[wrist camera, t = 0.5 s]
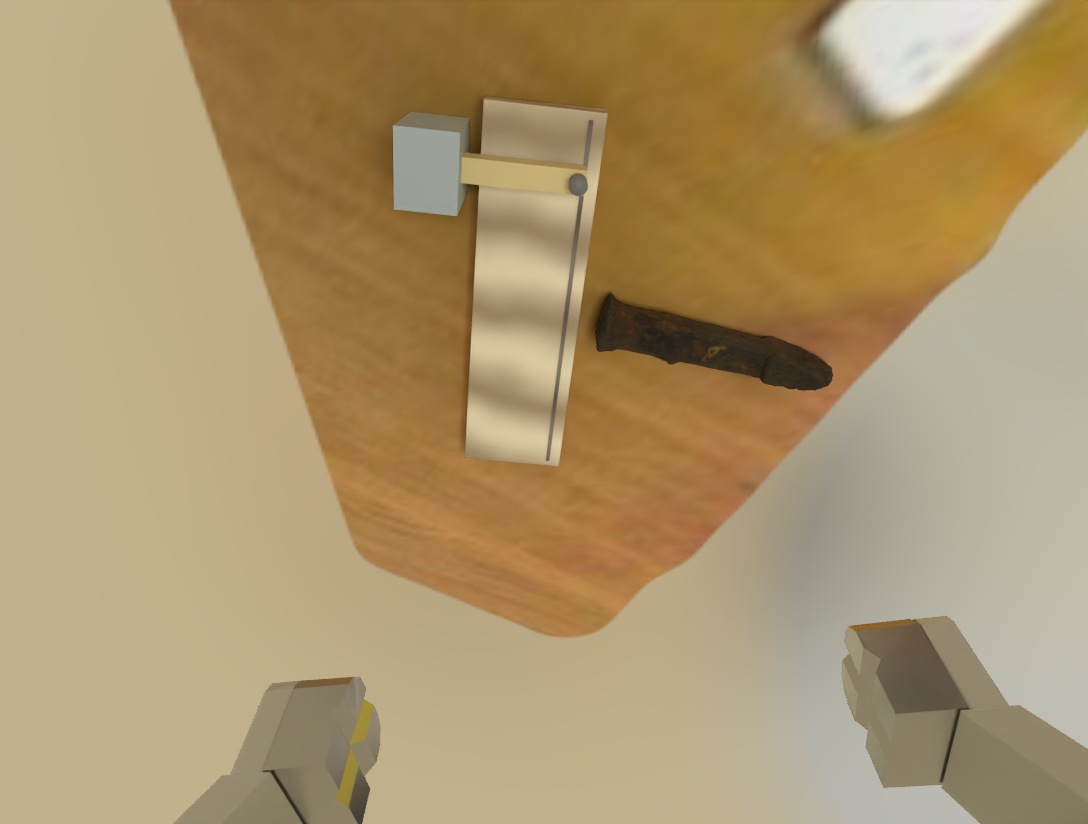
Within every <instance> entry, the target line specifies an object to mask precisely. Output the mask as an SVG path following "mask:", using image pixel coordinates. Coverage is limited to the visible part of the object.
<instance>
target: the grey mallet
mask: <svg viewBox="0 0 1088 824" xmlns="http://www.w3.org/2000/svg"><path fill="white" fill-rule="evenodd" d="M469 135H470V118H464V117H455V116H446V115H437V114H429V113H420V112H409V113H408V114H407V115H406V116H404V117H403V118H402V119H400V120H399V121H398V122H397V123H395V124H394V125H393V170H394V209H395V210H404V211H414V212H423V213H433V214H442V215H452V216H457V215H458V213H459V210H460V208H461V206H462V204H463V201H464V199H465V197H466V194H467V184H474V185H484V186H493V187H502V188H512V189H521V190H530V191H540V192H549V193H558V194H567V195H575V196H584V194H585V193H586V191H587V189H588V183H587V179H586V177H587V167H586V166H585V165H576V164H566V163H557V162H548V161H539V160H530V159H521V158H512V157H503V156H493V155H484V154H475V153H469Z"/></svg>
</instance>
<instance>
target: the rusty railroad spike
mask: <svg viewBox="0 0 1088 824" xmlns="http://www.w3.org/2000/svg"><path fill="white" fill-rule="evenodd" d="M595 333H596V344H597V345H596V347H597V350H598V351H599V352H602V351H614V350H616V349H619V350H627V351H632V352H637V353H642V354H647V355H652V356H654V357H657V358H660V359H662V360H664V361H666V362H667V363H668V364H675V363H677V362H684V363H689V364H695V365H699V366H704V367H708V368H714V369H718V370H723V371H728V372H734V373H740V374H745V375H749V376H752V377H756V378H760V379H761V381H762V382H763V383H765V384H769V385H773V386H783V387H786V388H788V389H796V388H797V389H798V390H804V391H805V390H817V389H821V388H823V387H826V386H828V385H829V383H831V381H832V376H833V374H832V368H831V367H830V366H829V365H828V364H827V363H825V362H824V361H823V360H822V359H820V358H818V357H817V356H816V355H814V354H812V353H809V352H808V351H806V350H803V349H801V348H800V347H798V346H796V345H792V344H789V343H787V342H785V341H782V340H780V339H777V338H775V337H772V336H764V337H763V338H761V337H757V336H753V335H749V334H745V333H742V332H738V331H734V330H730V329H726V328H722V327H720V326H717V325H713V324H706V323H701V322H697V321H693V320H689V319H686V318H683V317H679V316H676V315H672V314H669V313H666V312H657V311H653V310H646V309H642V308H638V307H633V306H630V305H626V304H623V303H621V302H619V301H618V300H616V299H615V297H614V296H613V294H612V293H611V294H610V295H608V297H607V298H606V300H605V303H604V306H603V309H602V311H601V314H600V317H599V321H598V325H597V329H596V332H595Z"/></svg>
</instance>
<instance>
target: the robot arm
mask: <svg viewBox="0 0 1088 824" xmlns="http://www.w3.org/2000/svg"><path fill="white" fill-rule="evenodd" d="M844 642H845V644H846V647H847V649H848V651H849V653H850V654H849V655H847V657H845V658H844V659H843V661H842V678H843V686H844V691H845V695H846V698H847V702H848V705H849V707H850V710H851V712H852V715H853V717H854V720H855V721H857V722H858V723H859V724H860V725H862V726H863V727H864V728H865V729H867V730H868V733H867V741H866V748H867V750H868V753H869V755H870V757H871V760H872V762H873V764H874V767H875V769H876V771H877V774H878V776H879V778H880V781H881V783H882V785H883V787H884V788H887V787H905V786H924V785H942V789H944V790H945V791H946V792H947V793H948V794H949V795H950V796H951V797H952V798H953V799H955V801H957V802H958V803H959V804H960V805H961V806H962V807H963V808H964V809H965V810H966V811H968V812H969V813H970V814H971V815H972V816H973V817H974V818H975V819H976V820H977V821H978V822H979V823H981V824H1088V749H1087V748H1085V747H1083V746H1082V745H1080V744H1079V743H1077V742H1075V741H1074V740H1073V739H1071V738H1070V737H1068V736H1067V735H1065V734H1063V733H1062V732H1060V731H1059V730H1057V729H1056V728H1054V727H1052V726H1051V725H1049V724H1048V723H1046V722H1045V721H1043V720H1042V719H1040V718H1038V717H1037V716H1035V715H1034V714H1032V713H1031V712H1029V711H1028V710H1026V709H1024V708H1023V707H1021V706H1009V705H1008V703H1007V702H1006V700H1005V699H1004V697H1003V696H1002V694H1001V693H1000V691H999V690H998V688H997V686H996V685H995V683H994V682H993V680H992V679H991V678H990V676H989V674H988V673H987V671H986V670H985V668H984V667H983V665H982V664H981V662H980V661H979V659H978V658H977V656H976V655H975V653H974V652H973V650H972V648H971V647H970V645H969V644H968V642H967V641H966V639H965V638H964V636H963V635H962V634H961V632H960V630H959V629H958V627H957V626H956V624H955V623H954V621H952V620H951V619H950V618H948V617H947V616H942V617H933V618H923V619H914V620H911V619H906V620H898V621H889V622H881V623H872V624H863V625H854V626H849V627H848V628H847V630H846V632H845V641H844ZM365 692H366V687H365V685H364V684H363V682H362V680H361V678H360V677H347V678H333V679H321V680H305V681H294V682H283V683H273V684H272V685H271V686H270V687H269V688H268V689H267V690H266V691H265V693H264V695H263V697H262V700H261V702H260V705H259V707H258V710H257V712H256V714H255V717H254V719H253V721H252V724H251V726H250V729H249V731H248V733H247V736H246V738H245V741H244V743H243V746H242V748H241V750H240V753H239V755H238V757H237V760H236V762H235V765H234V767H233V769H232V772H231V774H230V775H225V776H221V777H220V778H219V779H218V780H217V781H216V782H215V783H214V784H213V785H212V786H211V787H210V788H209V789H208V790H207V791H206V792H205V793H204V794H203V795H202V796H201V797H200V798H199V799H198V800H197V801H196V802H195V803H194V804H193V805H192V806H190V807H189V808H188V809H187V810H186V811H185V812H184V813H183V814H182V815H181V816H180V817H179V818H178V819H177V820H176V821H175V822H174V823H173V824H362V822H363V817H364V813H365V809H366V804H367V800H368V796H369V792H370V787H369V785H368V783H367V781H366V779H365V777H364V776H365V775H366V774H367V772H368V771H369V770H370V769H371V768H372V767H373V766H374V764H375V763H376V761H377V756H378V752H379V747H380V723H379V718H378V714H377V712H376V709H375V707H374V705H372V704H371V703H369V702H367V701H366V700H364V696H365Z"/></svg>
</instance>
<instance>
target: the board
mask: <svg viewBox="0 0 1088 824" xmlns="http://www.w3.org/2000/svg"><path fill="white" fill-rule="evenodd" d="M607 115H608V113H607V111H606V109H599V108H590V107H581V106H573V105H564V104H555V103H546V102H537V101H529V100H520V99H511V98H502V97H493V96H486V97H485V98H484V103H483V122H482V141H481V154H484V155H493V156H503V157H512V158H521V159H530V160H539V161H548V162H557V163H566V164H576V165H585V166H586V167H587V177H586V179H587V183H588V189H587V191H586V193H585V194H584V196H575V195H567V194H558V193H549V192H540V191H530V190H521V189H512V188H502V187H493V186H484V185H479V199H478V218H477V237H476V256H475V275H474V294H473V313H472V333H471V352H470V371H469V390H468V409H467V428H466V447H465V458H474V459H485V460H496V461H507V462H519V463H530V464H541V465H552V466H559V459H560V452H561V445H562V438H563V430H564V423H565V416H566V409H567V402H568V395H569V387H570V380H571V373H572V366H573V359H574V352H575V345H576V337H577V330H578V323H579V316H580V309H581V302H582V294H583V287H584V280H585V273H586V266H587V259H588V251H589V244H590V237H591V230H592V223H593V216H594V209H595V201H596V194H597V187H598V180H599V173H600V166H601V158H602V151H603V144H604V137H605V130H606V123H607Z"/></svg>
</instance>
